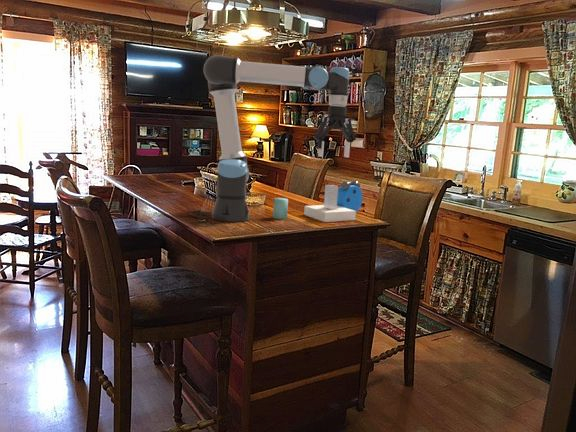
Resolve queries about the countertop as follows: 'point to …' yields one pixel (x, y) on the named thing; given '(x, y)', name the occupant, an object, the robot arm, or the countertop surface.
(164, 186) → the countertop surface
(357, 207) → the alarm clock
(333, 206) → the square bit
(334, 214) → the bore block
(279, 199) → the pale teal capsule
